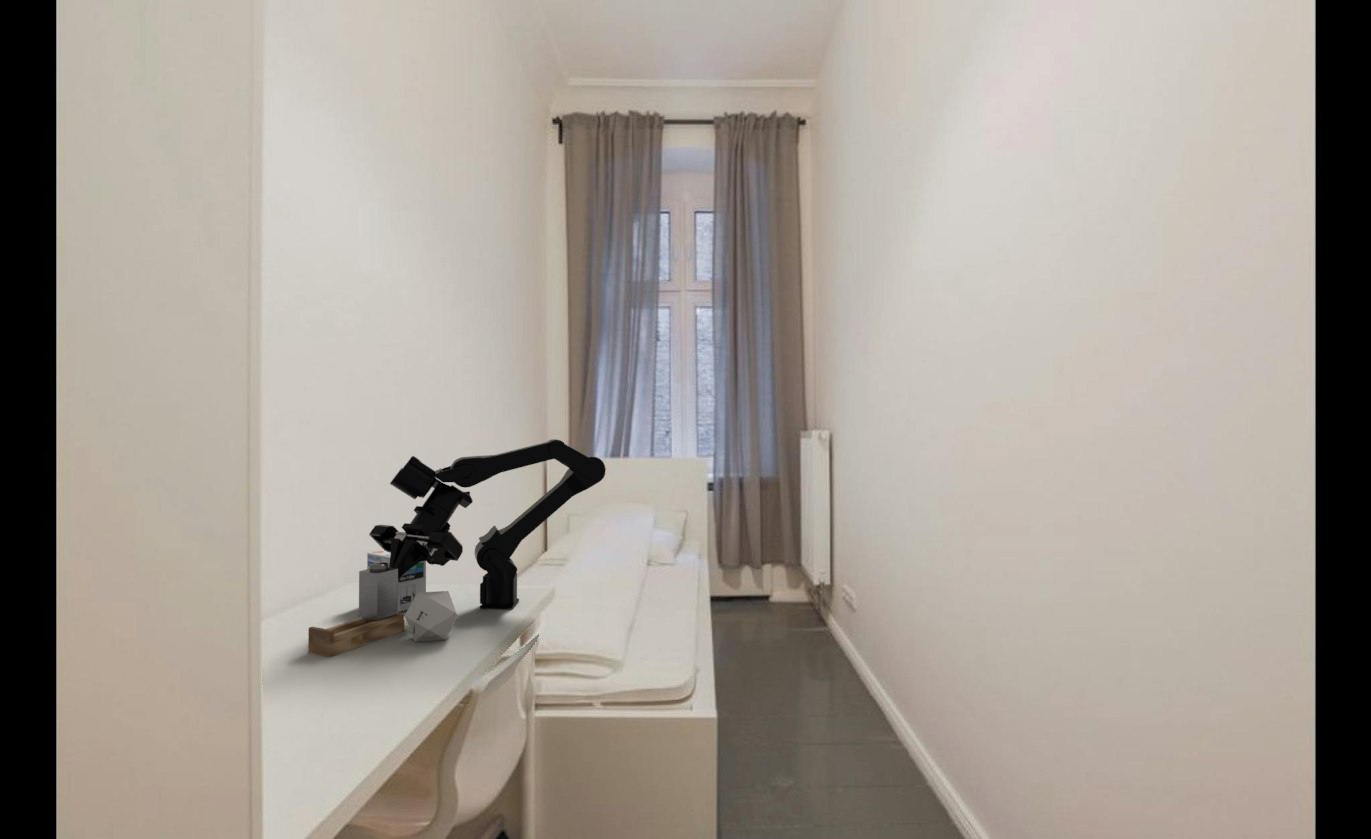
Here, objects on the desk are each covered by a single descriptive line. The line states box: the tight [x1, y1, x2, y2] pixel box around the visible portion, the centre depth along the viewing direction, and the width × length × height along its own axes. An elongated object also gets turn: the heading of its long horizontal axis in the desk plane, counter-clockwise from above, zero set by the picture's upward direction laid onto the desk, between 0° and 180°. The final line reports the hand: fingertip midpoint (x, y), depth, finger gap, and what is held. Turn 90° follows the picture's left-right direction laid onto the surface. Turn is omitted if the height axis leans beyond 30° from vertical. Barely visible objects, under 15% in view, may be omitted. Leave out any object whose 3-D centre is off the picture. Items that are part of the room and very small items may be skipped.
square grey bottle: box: [358, 562, 399, 623], centre depth 118 cm, size 4×4×10 cm
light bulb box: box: [366, 549, 427, 613], centre depth 137 cm, size 11×7×11 cm, turn 58°
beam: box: [307, 612, 406, 658], centre depth 115 cm, size 15×5×4 cm, turn 156°
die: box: [404, 590, 458, 643], centre depth 116 cm, size 8×9×10 cm
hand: (390, 580), depth 121 cm, fingers closed
